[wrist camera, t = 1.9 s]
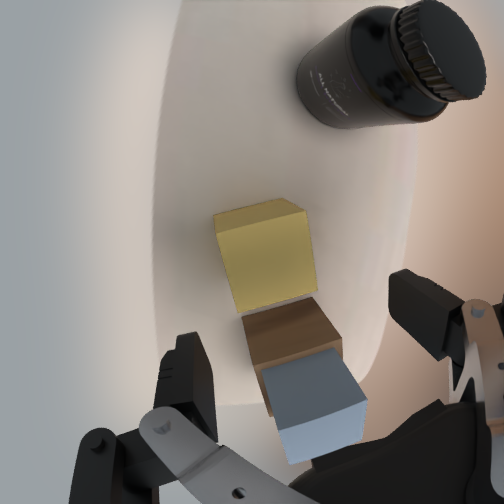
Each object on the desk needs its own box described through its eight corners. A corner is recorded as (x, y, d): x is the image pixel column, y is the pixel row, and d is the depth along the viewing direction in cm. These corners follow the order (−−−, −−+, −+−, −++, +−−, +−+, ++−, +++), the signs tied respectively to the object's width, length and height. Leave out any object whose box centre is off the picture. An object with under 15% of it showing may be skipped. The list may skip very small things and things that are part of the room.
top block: (213, 215, 19) (215, 233, 14) (282, 197, 20) (305, 210, 15) (230, 278, 21) (237, 313, 16) (294, 261, 21) (317, 290, 17)
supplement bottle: (282, 109, 17) (380, 54, 6) (307, 35, 16) (397, -47, 4) (363, 144, 19) (492, 150, 8) (382, 74, 17) (496, 42, 6)
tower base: (241, 316, 22) (252, 365, 16) (312, 296, 22) (342, 338, 17) (256, 368, 24) (269, 416, 19) (318, 349, 25) (343, 393, 19)
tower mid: (260, 370, 17) (278, 430, 12) (334, 347, 17) (367, 399, 12) (273, 412, 18) (289, 465, 14) (336, 392, 19) (361, 439, 14)
